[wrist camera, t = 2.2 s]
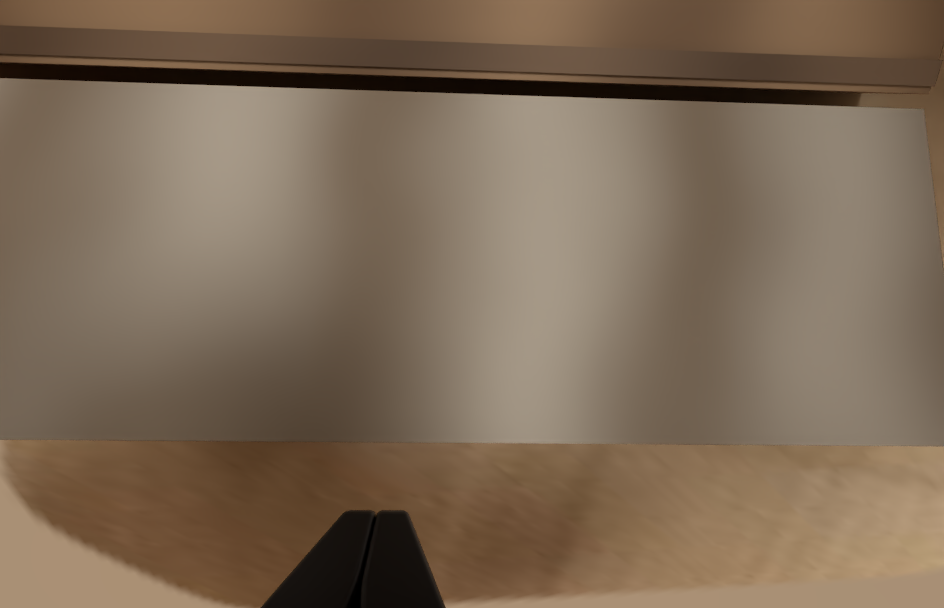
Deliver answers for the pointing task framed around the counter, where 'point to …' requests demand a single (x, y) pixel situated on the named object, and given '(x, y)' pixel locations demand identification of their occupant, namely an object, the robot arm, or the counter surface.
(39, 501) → the counter surface
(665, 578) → the counter surface
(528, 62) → the walnut plank
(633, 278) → the grey plank
